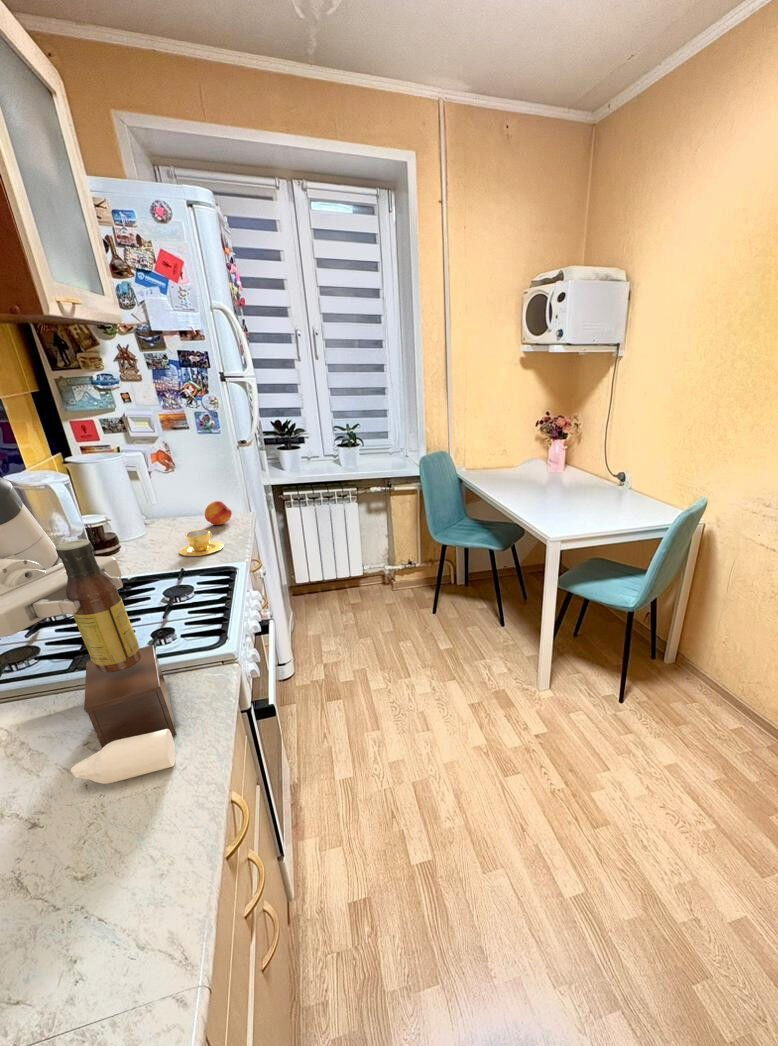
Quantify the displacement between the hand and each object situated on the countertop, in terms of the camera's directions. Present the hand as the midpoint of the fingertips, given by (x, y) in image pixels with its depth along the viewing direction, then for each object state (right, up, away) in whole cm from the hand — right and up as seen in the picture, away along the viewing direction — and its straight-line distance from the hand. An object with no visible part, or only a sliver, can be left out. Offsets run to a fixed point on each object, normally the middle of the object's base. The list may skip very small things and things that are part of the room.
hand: (98, 595), depth 74 cm
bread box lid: (-1, -13, +6) cm, 14 cm away
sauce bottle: (-1, -11, +5) cm, 12 cm away
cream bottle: (+4, -26, 0) cm, 26 cm away
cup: (-29, +13, +82) cm, 88 cm away
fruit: (-35, +24, +105) cm, 113 cm away
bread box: (-1, -21, +10) cm, 24 cm away
